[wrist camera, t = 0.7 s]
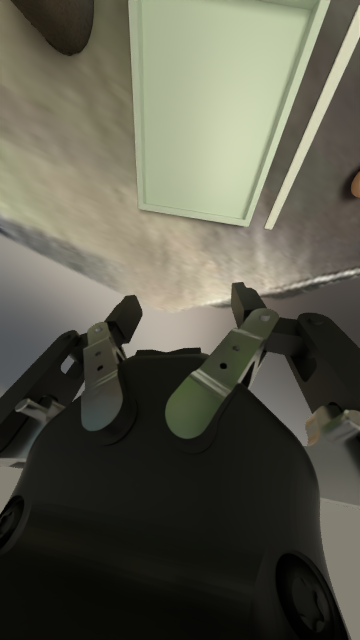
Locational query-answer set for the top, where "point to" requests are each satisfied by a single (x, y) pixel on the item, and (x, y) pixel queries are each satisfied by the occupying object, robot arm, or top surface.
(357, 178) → the ball
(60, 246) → the top surface
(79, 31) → the pillar candle
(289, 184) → the strip
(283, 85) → the tray
